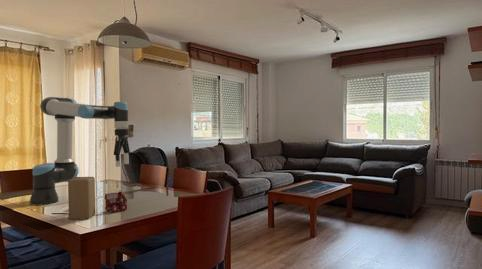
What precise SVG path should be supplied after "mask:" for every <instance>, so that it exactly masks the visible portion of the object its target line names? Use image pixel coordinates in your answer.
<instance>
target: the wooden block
mask: <svg viewBox="0 0 482 269" xmlns="http://www.w3.org/2000/svg"><path fill="white" fill-rule="evenodd" d="M95 179H96V178H95V176H77V177H75V178H73V179H70V180H69V181H68V182H67V189H68V191H67V192H68V193H67V196H68V206H69V214H68V219H69V220H71V219H76V220H89V219H91V218H92V217H93V216H95V215H96V183H95V182H96V180H95Z"/></svg>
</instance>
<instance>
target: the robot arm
mask: <svg viewBox="0 0 482 269" xmlns="http://www.w3.org/2000/svg"><path fill="white" fill-rule="evenodd" d="M39 104H40V106H39V107H40V110H41V112H42V113H43V114H45V115H46V116H51V117H52V116H53V117H54V120H55V121H57V123H56V125H57V126H56V127H57V128H56V136H57V137H56V145H57V146H56V159H55V160H54V163H53V162H46V163H40V164H36V165H35V166H33V168H32V193H31V196H30V199H29V204H30V203H31V204H44V205H49V204H50V203H51V204H55V203H58V202H60V201H59V195H58V193H57V191H56V184H60V183H65V182H66V183H68V181H69V180H70V179H73V178H75V177H78V175H79V166H78V164H77V163H76V162H75V159H73V122H74V121H75V120H76V118H80V119H87V120H88V119H99V120H110V119H111V120H113V119H114V120H113V122H114V136H116V137H115V140H114V141H115V142H114V149H113V155H114V157H115V167H117V168H118V167H122V156H121V152H122V150H123V165H129V162H130V161H129V156H130V155H129V154H130V153H131V150H130V144H129V140H128V136H129V125H130V123H129V107H128V102H126V101H115V102H114V103H113V105H94V104H86V103H85V104H84V103H78V102H77V101H76V100H75V99H73V98H69V97H55V96H49V97H45V98H43V99H42V100H41V103H39ZM31 204H30V205H31Z"/></svg>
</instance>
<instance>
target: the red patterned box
mask: <svg viewBox="0 0 482 269" xmlns="http://www.w3.org/2000/svg"><path fill="white" fill-rule="evenodd" d="M104 199H105V207H104V209H105V210H106V212H110V213H113V214H116V213H117V212H118V211H119V210H120V212H125V211H127V209H128V198H126V195H125V194H124V193H123V192H122V191H120V190H119V191H118V192H109V193H105V194H104Z"/></svg>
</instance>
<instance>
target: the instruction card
mask: <svg viewBox="0 0 482 269" xmlns="http://www.w3.org/2000/svg"><path fill="white" fill-rule="evenodd" d="M53 212H54V213H69V205H67V206H64V207H63V208H60V209H58V210H56V211H53Z"/></svg>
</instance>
